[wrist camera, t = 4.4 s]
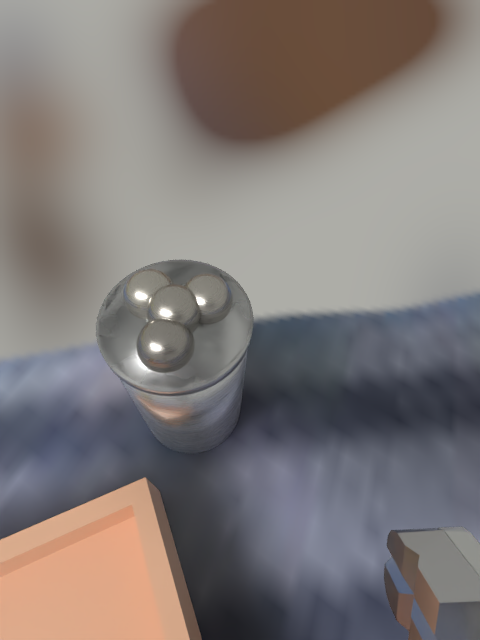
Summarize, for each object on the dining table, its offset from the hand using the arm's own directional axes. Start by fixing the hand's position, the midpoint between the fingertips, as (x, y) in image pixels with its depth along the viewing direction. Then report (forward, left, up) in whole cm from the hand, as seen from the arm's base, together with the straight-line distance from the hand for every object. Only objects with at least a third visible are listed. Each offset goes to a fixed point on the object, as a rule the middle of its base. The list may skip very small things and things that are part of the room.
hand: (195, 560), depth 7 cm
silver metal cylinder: (+8, -2, -12) cm, 14 cm away
